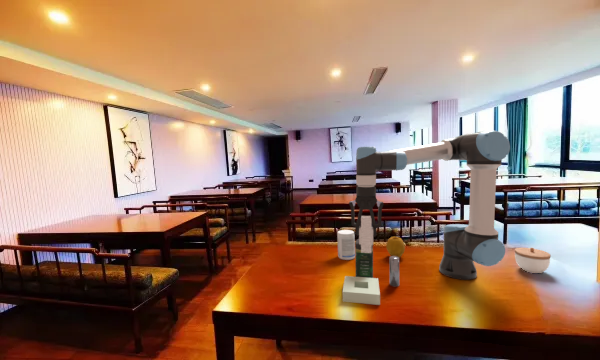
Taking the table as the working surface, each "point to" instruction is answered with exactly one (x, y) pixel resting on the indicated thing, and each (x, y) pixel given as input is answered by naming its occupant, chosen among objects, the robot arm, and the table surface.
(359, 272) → the coffee jar
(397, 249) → the apple
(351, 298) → the socket block
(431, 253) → the table surface
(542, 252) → the dishware bowl
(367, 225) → the square bit
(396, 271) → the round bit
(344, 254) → the supplement tub
